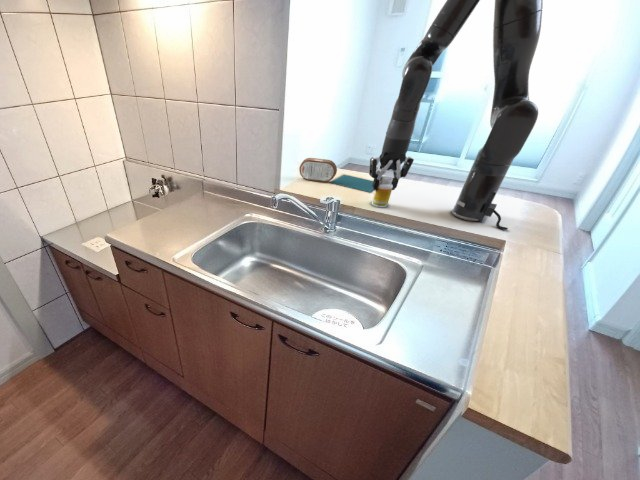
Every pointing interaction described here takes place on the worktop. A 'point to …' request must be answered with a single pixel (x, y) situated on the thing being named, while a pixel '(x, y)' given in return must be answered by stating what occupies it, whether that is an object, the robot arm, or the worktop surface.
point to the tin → (318, 169)
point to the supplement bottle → (383, 191)
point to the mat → (354, 183)
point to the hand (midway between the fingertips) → (383, 189)
